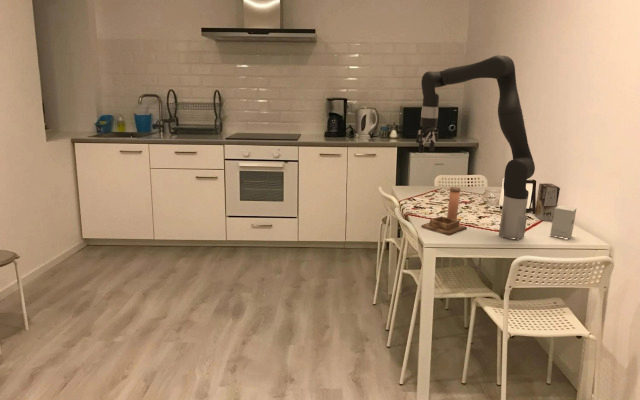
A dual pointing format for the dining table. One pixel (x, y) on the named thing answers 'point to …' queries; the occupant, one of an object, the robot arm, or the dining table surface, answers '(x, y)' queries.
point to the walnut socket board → (444, 225)
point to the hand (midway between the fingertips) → (426, 151)
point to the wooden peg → (453, 203)
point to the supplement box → (563, 221)
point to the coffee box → (546, 201)
